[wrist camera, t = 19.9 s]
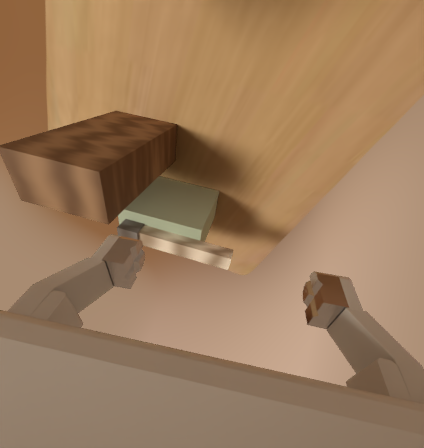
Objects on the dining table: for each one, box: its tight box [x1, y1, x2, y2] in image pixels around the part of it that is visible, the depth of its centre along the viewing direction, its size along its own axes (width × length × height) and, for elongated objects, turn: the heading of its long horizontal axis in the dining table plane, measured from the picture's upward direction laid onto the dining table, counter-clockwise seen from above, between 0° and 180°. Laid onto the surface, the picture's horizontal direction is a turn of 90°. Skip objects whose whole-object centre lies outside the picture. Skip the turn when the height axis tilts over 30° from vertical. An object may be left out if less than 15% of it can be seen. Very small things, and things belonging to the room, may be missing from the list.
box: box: [118, 176, 219, 242], centre depth 51 cm, size 17×8×16 cm, turn 82°
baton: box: [117, 219, 233, 270], centre depth 43 cm, size 22×4×3 cm, turn 81°
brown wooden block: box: [0, 111, 177, 224], centre depth 40 cm, size 14×8×26 cm, turn 82°
